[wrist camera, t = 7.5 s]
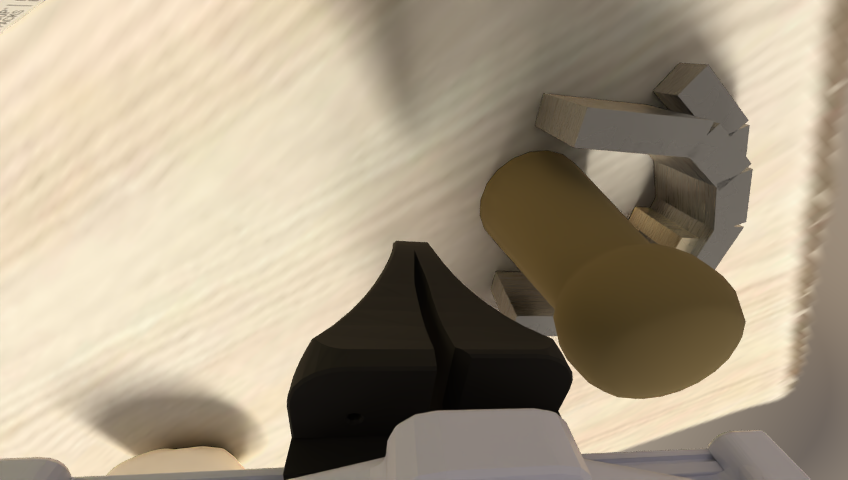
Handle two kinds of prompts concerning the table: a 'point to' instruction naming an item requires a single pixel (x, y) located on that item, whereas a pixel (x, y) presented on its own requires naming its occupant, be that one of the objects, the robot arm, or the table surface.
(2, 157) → the table surface
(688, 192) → the hub collar
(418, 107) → the table surface
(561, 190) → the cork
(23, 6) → the tea box
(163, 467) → the cell model
